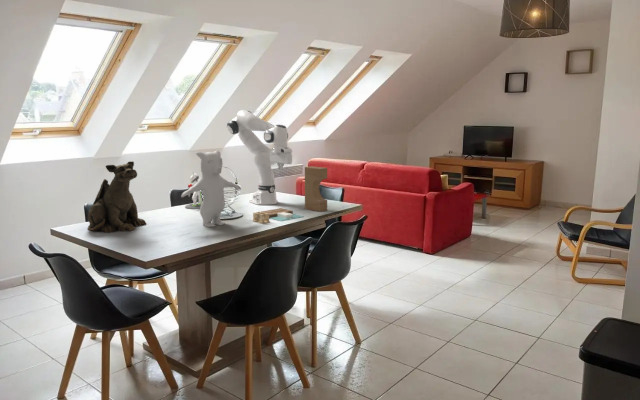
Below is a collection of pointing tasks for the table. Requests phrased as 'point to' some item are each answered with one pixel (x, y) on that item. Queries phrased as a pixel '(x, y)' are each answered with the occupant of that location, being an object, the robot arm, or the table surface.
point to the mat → (286, 218)
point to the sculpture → (115, 203)
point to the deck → (274, 212)
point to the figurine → (195, 194)
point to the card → (284, 215)
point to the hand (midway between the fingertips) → (280, 169)
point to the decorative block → (314, 188)
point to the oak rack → (261, 217)
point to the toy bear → (211, 188)
